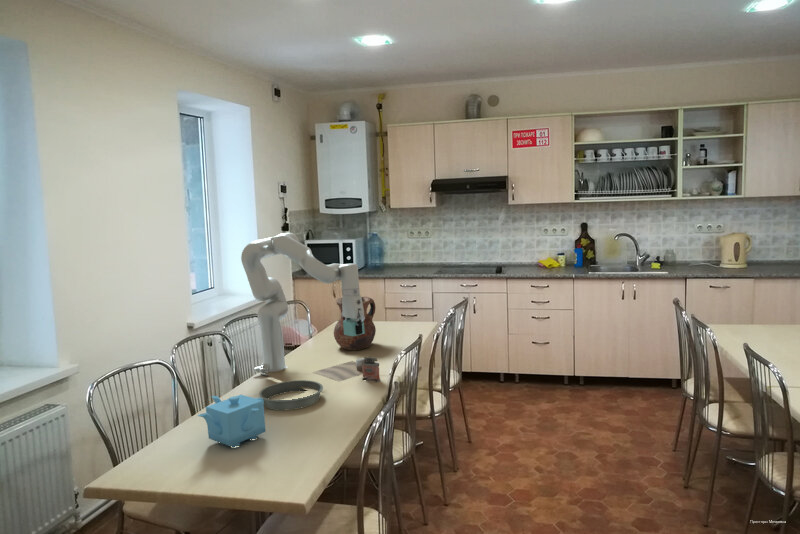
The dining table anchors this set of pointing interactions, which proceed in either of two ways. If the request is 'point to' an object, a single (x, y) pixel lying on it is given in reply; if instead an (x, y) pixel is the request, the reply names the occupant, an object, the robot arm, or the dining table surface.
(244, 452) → the dining table surface
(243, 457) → the dining table surface
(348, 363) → the post board
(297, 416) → the dining table surface
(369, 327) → the jug
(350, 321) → the turquoise cube
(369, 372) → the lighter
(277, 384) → the cake pan
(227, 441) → the teakettle
